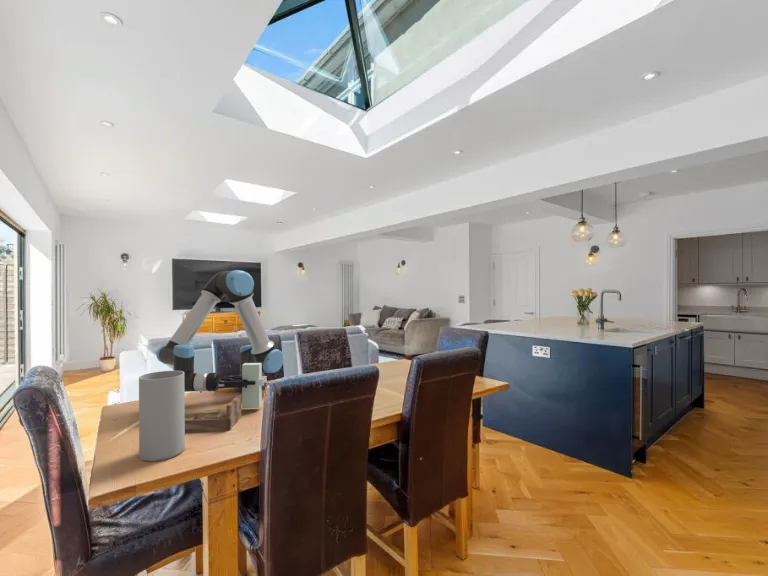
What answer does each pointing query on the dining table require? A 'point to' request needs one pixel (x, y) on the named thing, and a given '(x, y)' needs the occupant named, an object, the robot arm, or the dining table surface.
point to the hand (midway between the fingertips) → (265, 380)
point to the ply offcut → (213, 417)
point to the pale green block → (251, 393)
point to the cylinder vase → (161, 415)
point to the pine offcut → (211, 413)
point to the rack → (217, 424)
